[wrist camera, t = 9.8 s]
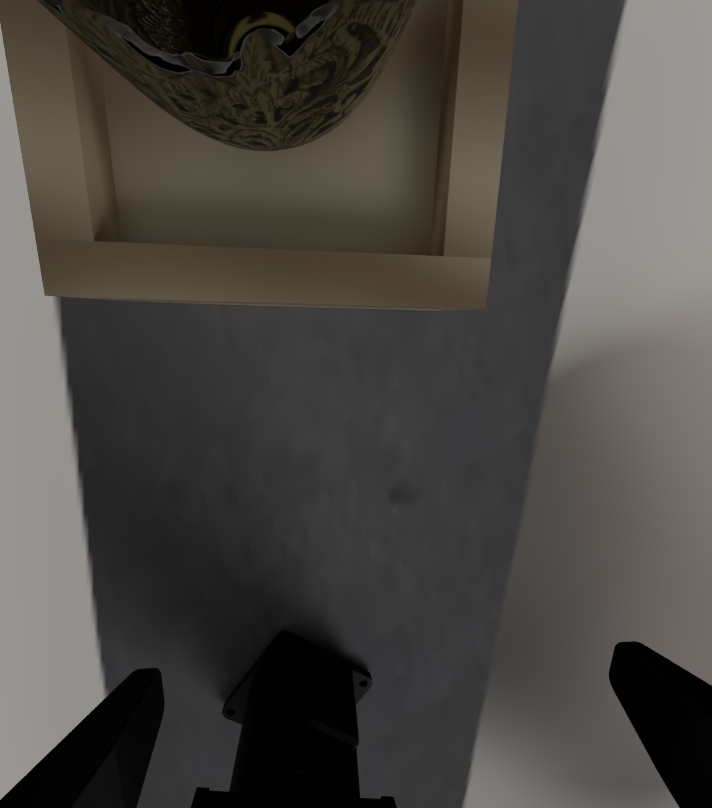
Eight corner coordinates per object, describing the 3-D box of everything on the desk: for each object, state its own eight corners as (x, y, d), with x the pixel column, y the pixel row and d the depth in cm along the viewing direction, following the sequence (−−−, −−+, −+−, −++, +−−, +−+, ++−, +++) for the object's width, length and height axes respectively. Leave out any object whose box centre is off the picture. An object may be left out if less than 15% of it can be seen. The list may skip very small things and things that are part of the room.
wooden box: (431, 310, 17) (486, 308, 12) (143, 302, 16) (44, 295, 11) (457, -33, 14) (546, -265, 9) (105, -74, 13) (-65, -375, 7)
